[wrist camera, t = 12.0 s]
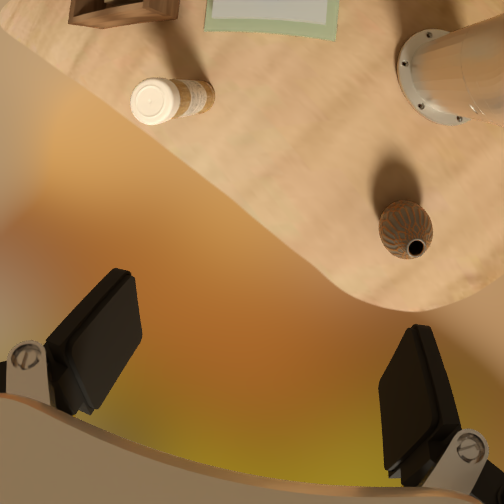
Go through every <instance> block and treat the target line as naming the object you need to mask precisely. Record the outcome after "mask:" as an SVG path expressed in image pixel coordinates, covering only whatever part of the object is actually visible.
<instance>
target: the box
mask: <svg viewBox="0 0 504 504" xmlns="http://www.w3.org/2000/svg"><path fill="white" fill-rule="evenodd" d="M179 2H180V0H71V5H70V12H69V20H68V24H72V25H80V26H87V27H93V28H99V29H106V28H112V27H118V26H124V25H130V24H137V23H145V22H153V21H163V20H175V19H177V18H178V10H179Z"/></svg>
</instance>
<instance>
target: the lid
mask: <svg viewBox="0 0 504 504" xmlns="http://www.w3.org/2000/svg"><path fill="white" fill-rule="evenodd" d="M326 14H327V0H213V8H212V18H214V19H268V20H284V21H295V22H305V23H314V24H322V25H326Z"/></svg>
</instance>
